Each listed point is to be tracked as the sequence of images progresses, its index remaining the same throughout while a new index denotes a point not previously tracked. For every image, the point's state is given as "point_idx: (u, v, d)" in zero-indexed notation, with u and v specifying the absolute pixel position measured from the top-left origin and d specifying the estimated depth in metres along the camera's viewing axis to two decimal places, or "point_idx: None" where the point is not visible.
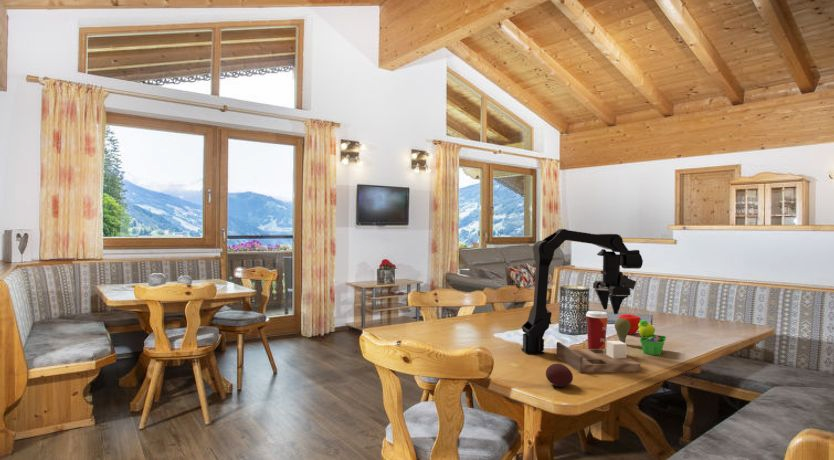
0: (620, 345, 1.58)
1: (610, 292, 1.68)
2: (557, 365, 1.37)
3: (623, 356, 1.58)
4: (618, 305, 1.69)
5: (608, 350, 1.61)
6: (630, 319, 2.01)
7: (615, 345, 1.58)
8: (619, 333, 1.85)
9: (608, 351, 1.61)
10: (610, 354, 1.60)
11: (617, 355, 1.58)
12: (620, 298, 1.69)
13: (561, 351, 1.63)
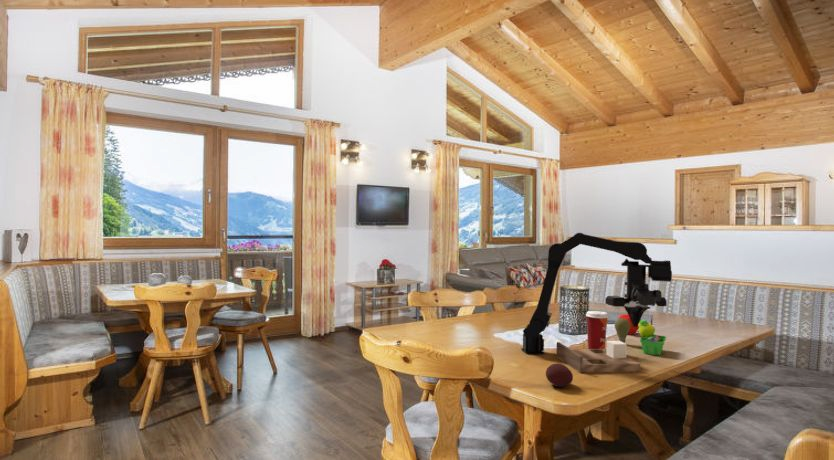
0: (620, 345, 1.58)
1: None
2: (557, 365, 1.37)
3: (623, 356, 1.58)
4: (632, 317, 1.60)
5: (608, 350, 1.61)
6: None
7: (615, 345, 1.58)
8: (619, 333, 1.85)
9: (608, 351, 1.61)
10: (610, 354, 1.60)
11: (617, 355, 1.58)
12: None
13: (561, 351, 1.63)
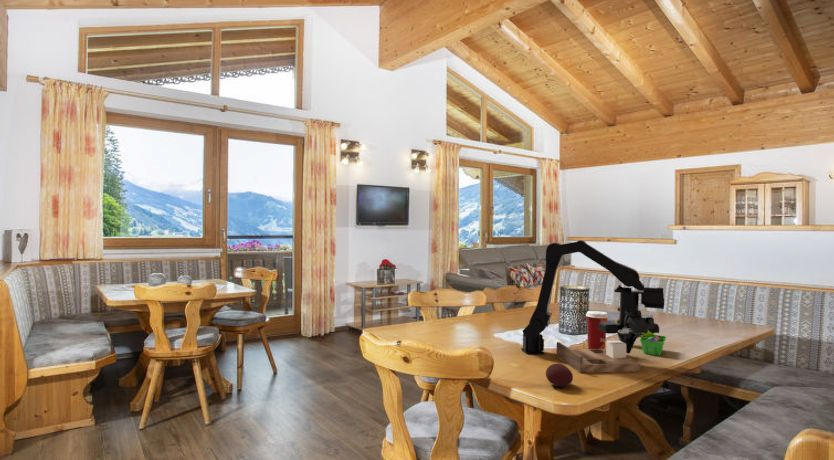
0: (620, 345, 1.58)
1: None
2: (557, 365, 1.37)
3: (623, 356, 1.58)
4: None
5: (608, 350, 1.61)
6: None
7: (615, 345, 1.58)
8: None
9: (608, 351, 1.61)
10: (610, 354, 1.60)
11: (617, 355, 1.58)
12: None
13: (561, 351, 1.63)
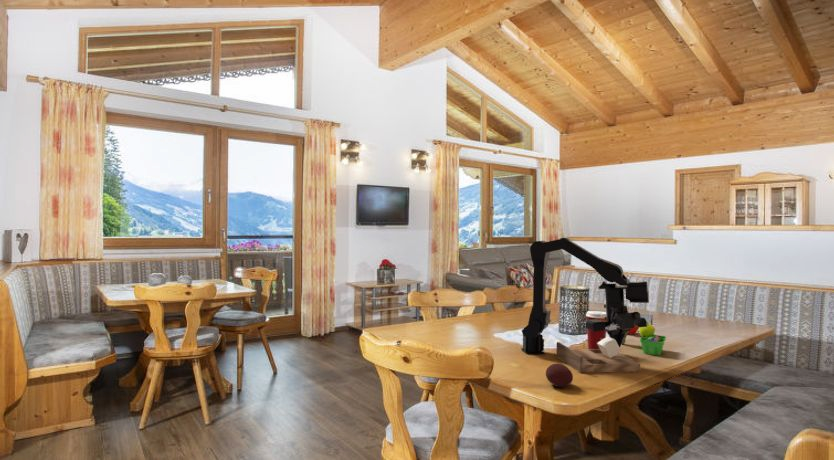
0: (610, 343, 1.57)
1: None
2: (557, 365, 1.37)
3: (618, 351, 1.58)
4: None
5: (602, 351, 1.60)
6: None
7: (606, 346, 1.57)
8: None
9: (603, 352, 1.60)
10: (606, 355, 1.59)
11: (612, 353, 1.57)
12: None
13: (561, 351, 1.63)
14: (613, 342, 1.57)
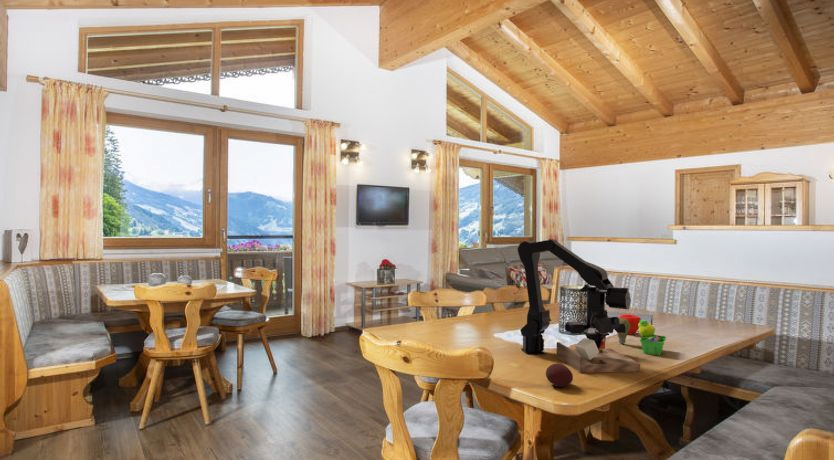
0: (590, 345, 1.55)
1: None
2: (557, 365, 1.37)
3: (597, 353, 1.56)
4: None
5: (581, 353, 1.57)
6: (630, 319, 2.01)
7: (586, 348, 1.54)
8: (619, 333, 1.85)
9: (581, 354, 1.58)
10: (585, 357, 1.56)
11: (591, 355, 1.55)
12: None
13: (561, 351, 1.63)
14: (592, 343, 1.55)
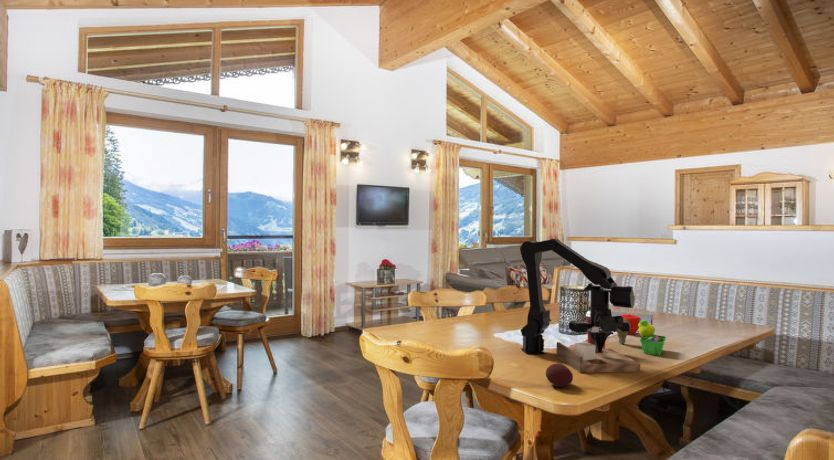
0: (590, 347, 1.55)
1: None
2: (557, 365, 1.37)
3: (593, 358, 1.56)
4: (595, 342, 1.59)
5: (578, 352, 1.57)
6: (630, 319, 2.01)
7: (586, 347, 1.54)
8: (619, 333, 1.85)
9: None
10: None
11: (587, 357, 1.55)
12: None
13: (561, 351, 1.63)
14: (593, 347, 1.56)
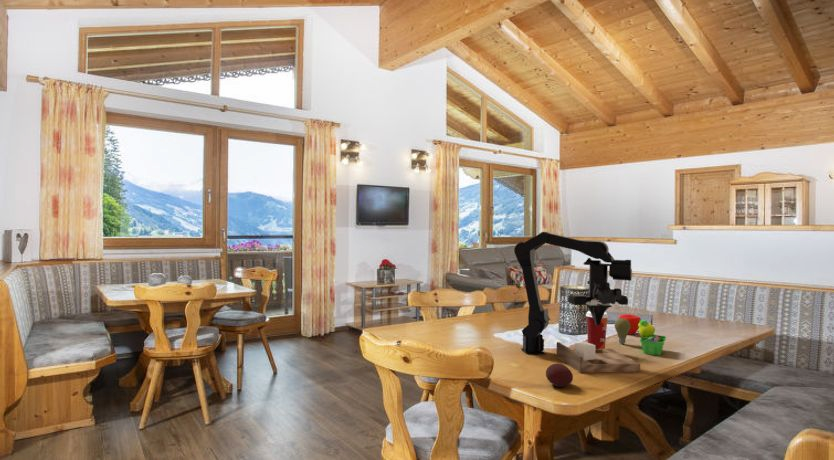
0: (590, 347, 1.55)
1: None
2: (557, 365, 1.37)
3: (593, 358, 1.56)
4: (594, 315, 1.62)
5: (578, 352, 1.57)
6: (630, 319, 2.01)
7: (586, 347, 1.54)
8: (619, 333, 1.85)
9: None
10: None
11: (587, 357, 1.55)
12: None
13: (561, 351, 1.63)
14: (593, 347, 1.56)
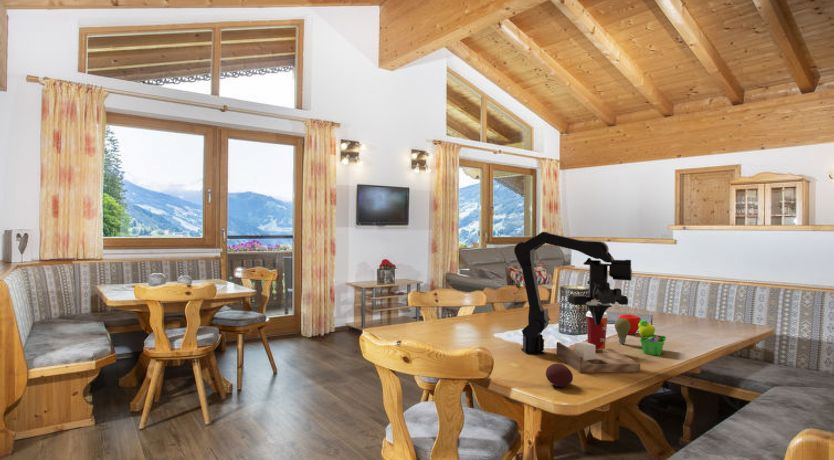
0: (590, 347, 1.55)
1: None
2: (557, 365, 1.37)
3: (593, 358, 1.56)
4: (594, 315, 1.62)
5: (578, 352, 1.57)
6: (630, 319, 2.01)
7: (586, 347, 1.54)
8: (619, 333, 1.85)
9: None
10: None
11: (587, 357, 1.55)
12: None
13: (561, 351, 1.63)
14: (593, 347, 1.56)
